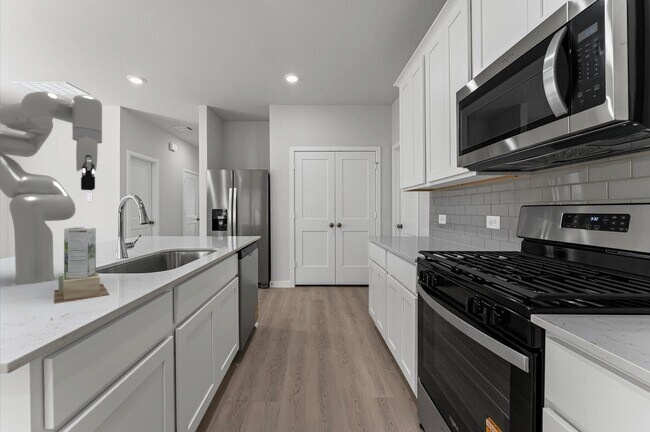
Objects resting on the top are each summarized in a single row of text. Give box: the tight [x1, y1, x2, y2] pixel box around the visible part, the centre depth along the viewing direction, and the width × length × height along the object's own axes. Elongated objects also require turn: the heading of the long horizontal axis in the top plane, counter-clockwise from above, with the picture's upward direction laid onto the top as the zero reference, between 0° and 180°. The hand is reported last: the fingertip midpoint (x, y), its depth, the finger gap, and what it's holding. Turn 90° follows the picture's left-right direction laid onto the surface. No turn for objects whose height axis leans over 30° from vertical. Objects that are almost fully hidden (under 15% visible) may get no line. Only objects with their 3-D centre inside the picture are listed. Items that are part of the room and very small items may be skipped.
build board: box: [53, 283, 110, 305], centre depth 90 cm, size 18×12×2 cm, turn 42°
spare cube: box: [57, 272, 64, 293], centre depth 93 cm, size 5×5×5 cm
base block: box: [63, 272, 101, 300], centre depth 88 cm, size 8×8×5 cm
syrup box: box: [63, 226, 97, 279], centre depth 88 cm, size 6×6×14 cm
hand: (87, 189), depth 98 cm, fingers open, 9 cm apart
